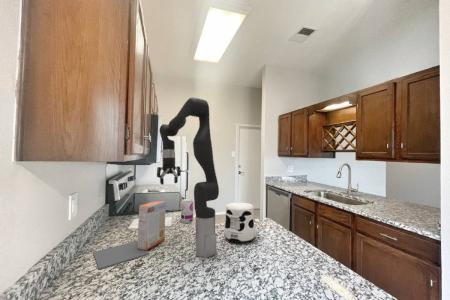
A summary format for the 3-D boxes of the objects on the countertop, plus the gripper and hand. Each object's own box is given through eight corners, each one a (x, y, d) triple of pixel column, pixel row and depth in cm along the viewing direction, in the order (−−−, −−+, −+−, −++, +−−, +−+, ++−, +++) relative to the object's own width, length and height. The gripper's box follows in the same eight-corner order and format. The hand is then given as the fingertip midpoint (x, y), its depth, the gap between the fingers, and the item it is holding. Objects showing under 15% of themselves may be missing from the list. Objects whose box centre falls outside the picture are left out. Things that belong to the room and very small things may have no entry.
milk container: (248, 231, 123) (248, 201, 124) (260, 243, 107) (260, 208, 107) (220, 233, 119) (220, 202, 119) (229, 246, 102) (229, 210, 103)
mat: (149, 254, 94) (149, 253, 94) (99, 269, 82) (99, 268, 82) (137, 241, 108) (137, 240, 108) (93, 253, 96) (93, 251, 96)
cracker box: (155, 239, 112) (157, 200, 113) (164, 240, 109) (166, 201, 111) (136, 248, 98) (138, 204, 100) (146, 251, 96) (148, 206, 98)
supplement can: (195, 220, 143) (195, 198, 144) (190, 224, 135) (190, 201, 136) (184, 219, 146) (184, 198, 146) (178, 223, 138) (179, 200, 138)
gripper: (159, 157, 118) (160, 185, 117) (182, 156, 127) (182, 183, 126) (155, 157, 124) (155, 184, 123) (176, 157, 132) (177, 182, 132)
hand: (169, 183), depth 124 cm, fingers open, 8 cm apart
